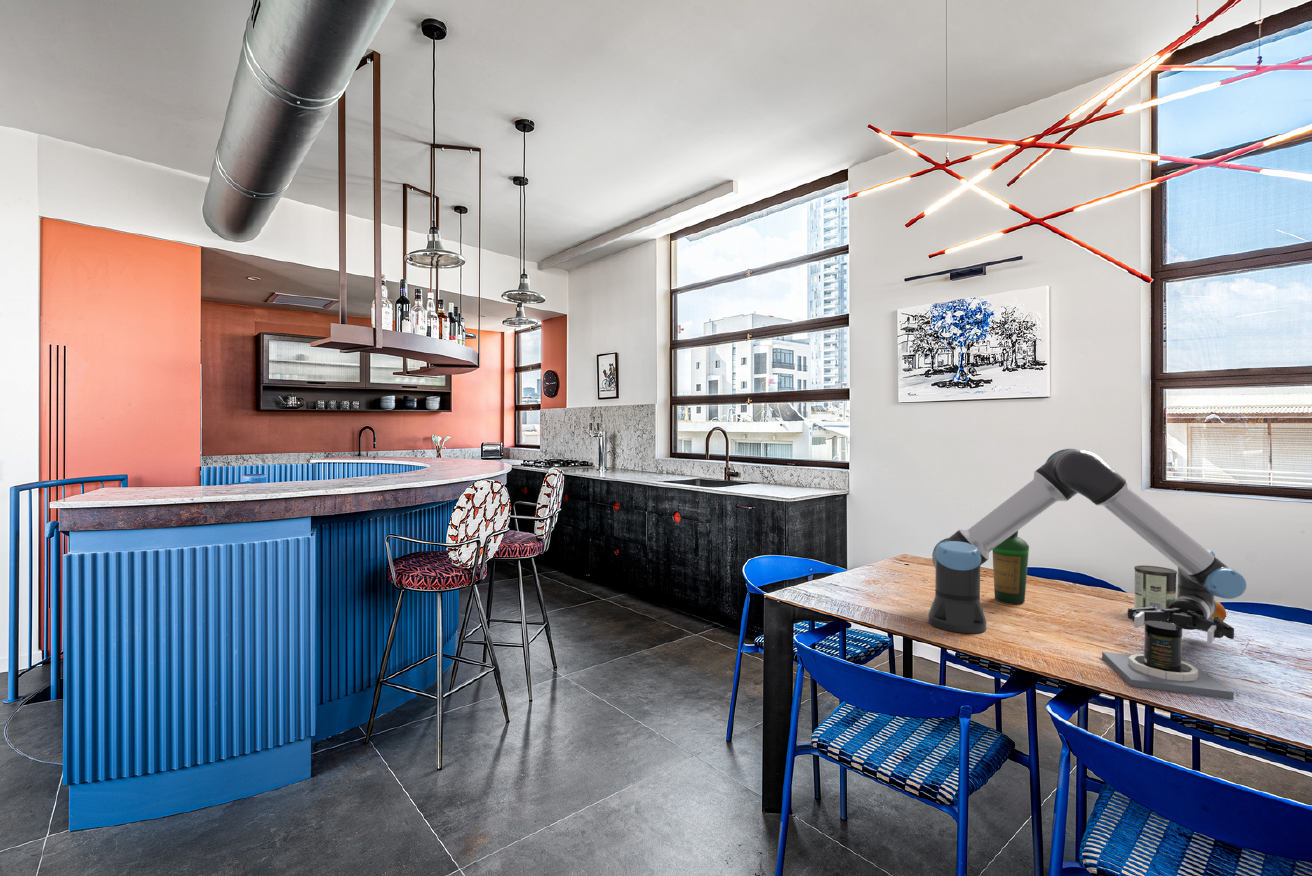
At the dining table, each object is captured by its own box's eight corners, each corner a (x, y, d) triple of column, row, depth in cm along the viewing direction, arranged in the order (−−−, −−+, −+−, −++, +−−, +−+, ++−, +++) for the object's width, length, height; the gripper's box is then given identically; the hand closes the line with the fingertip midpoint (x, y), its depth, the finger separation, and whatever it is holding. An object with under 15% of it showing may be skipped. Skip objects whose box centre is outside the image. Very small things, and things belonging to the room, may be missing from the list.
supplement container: (1186, 678, 135) (1188, 631, 135) (1149, 673, 138) (1150, 627, 138) (1174, 667, 141) (1175, 623, 141) (1139, 662, 144) (1140, 619, 144)
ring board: (1131, 686, 134) (1131, 672, 134) (1102, 657, 151) (1102, 645, 151) (1233, 699, 128) (1233, 685, 128) (1191, 667, 145) (1191, 655, 145)
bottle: (984, 597, 206) (985, 515, 205) (1013, 596, 207) (1015, 515, 206) (1004, 606, 195) (1006, 519, 195) (1036, 605, 196) (1037, 519, 196)
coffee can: (1163, 610, 193) (1163, 566, 192) (1184, 620, 182) (1185, 573, 182) (1126, 607, 195) (1127, 564, 194) (1145, 617, 185) (1146, 571, 184)
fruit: (1215, 621, 181) (1216, 595, 181) (1232, 630, 173) (1232, 602, 173) (1181, 618, 184) (1181, 592, 184) (1195, 626, 176) (1196, 599, 176)
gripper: (1254, 639, 150) (1243, 660, 136) (1129, 615, 169) (1108, 631, 155) (1255, 609, 150) (1243, 627, 136) (1129, 588, 169) (1108, 602, 155)
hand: (1171, 629), depth 145 cm, fingers open, 13 cm apart
